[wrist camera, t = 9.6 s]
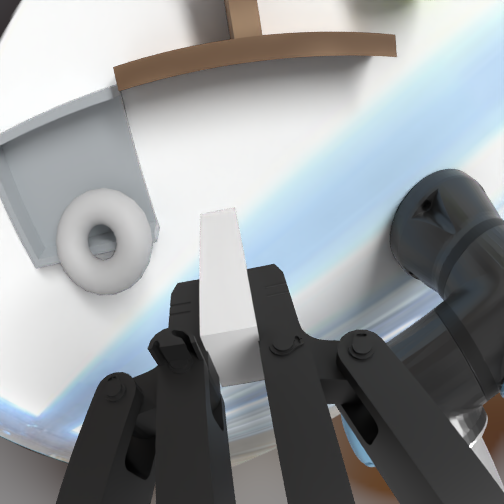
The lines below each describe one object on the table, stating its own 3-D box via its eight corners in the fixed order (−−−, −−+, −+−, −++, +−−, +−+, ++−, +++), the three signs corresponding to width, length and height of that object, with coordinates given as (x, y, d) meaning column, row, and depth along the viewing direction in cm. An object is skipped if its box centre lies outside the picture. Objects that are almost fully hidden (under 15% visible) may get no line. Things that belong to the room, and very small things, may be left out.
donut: (163, 211, 25) (127, 317, 27) (171, 210, 29) (138, 305, 30) (67, 172, 24) (40, 273, 26) (83, 174, 28) (57, 266, 29)
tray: (159, 228, 32) (157, 241, 30) (43, 255, 31) (36, 268, 29) (118, 83, 23) (110, 87, 21) (-7, 137, 22) (-20, 145, 20)
